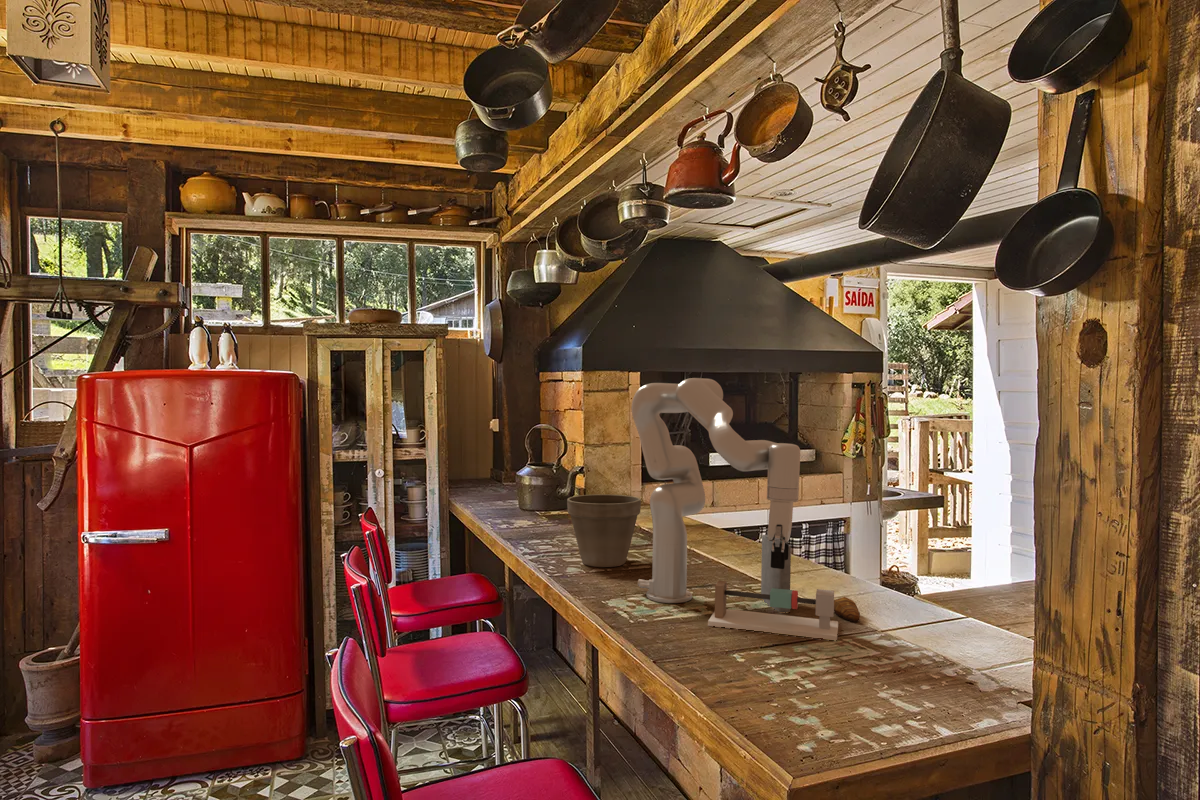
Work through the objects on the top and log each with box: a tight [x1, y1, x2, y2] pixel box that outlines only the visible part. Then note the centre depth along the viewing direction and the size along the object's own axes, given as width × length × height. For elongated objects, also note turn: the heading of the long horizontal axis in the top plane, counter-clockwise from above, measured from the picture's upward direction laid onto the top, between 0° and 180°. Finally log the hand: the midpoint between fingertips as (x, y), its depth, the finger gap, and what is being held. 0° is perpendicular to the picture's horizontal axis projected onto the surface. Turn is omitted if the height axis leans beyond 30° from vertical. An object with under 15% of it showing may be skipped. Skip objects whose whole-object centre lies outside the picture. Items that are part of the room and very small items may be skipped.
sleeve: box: [769, 588, 792, 610], centre depth 178 cm, size 5×4×4 cm
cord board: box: [707, 580, 839, 641], centre depth 178 cm, size 30×12×10 cm, turn 71°
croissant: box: [834, 596, 861, 623], centre depth 188 cm, size 14×7×5 cm, turn 6°
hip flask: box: [760, 530, 792, 613], centre depth 197 cm, size 16×4×20 cm, turn 7°
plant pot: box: [566, 494, 642, 568], centre depth 244 cm, size 25×25×22 cm
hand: (779, 563), depth 178 cm, fingers open, 9 cm apart
